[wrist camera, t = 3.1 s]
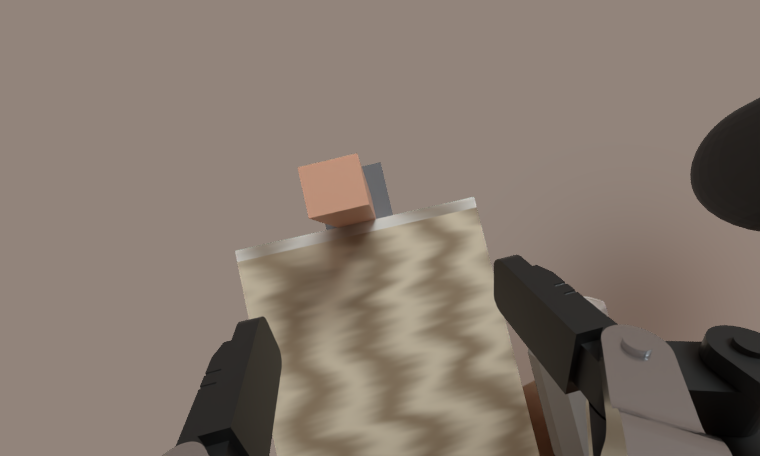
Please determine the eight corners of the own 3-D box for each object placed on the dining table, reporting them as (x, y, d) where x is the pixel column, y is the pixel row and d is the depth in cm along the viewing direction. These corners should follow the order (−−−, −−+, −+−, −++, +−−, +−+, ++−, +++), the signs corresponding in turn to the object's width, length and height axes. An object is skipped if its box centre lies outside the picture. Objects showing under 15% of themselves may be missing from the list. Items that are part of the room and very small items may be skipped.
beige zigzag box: (503, 462, 37) (441, 211, 39) (564, 552, 26) (474, 196, 28) (328, 516, 35) (271, 250, 37) (313, 636, 24) (234, 250, 26)
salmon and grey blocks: (337, 235, 37) (326, 188, 37) (392, 222, 37) (381, 175, 37) (278, 225, 17) (257, 124, 17) (399, 197, 17) (375, 96, 17)
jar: (664, 449, 34) (620, 292, 35) (658, 519, 27) (604, 321, 28) (567, 425, 41) (533, 295, 42) (543, 476, 34) (503, 318, 35)
